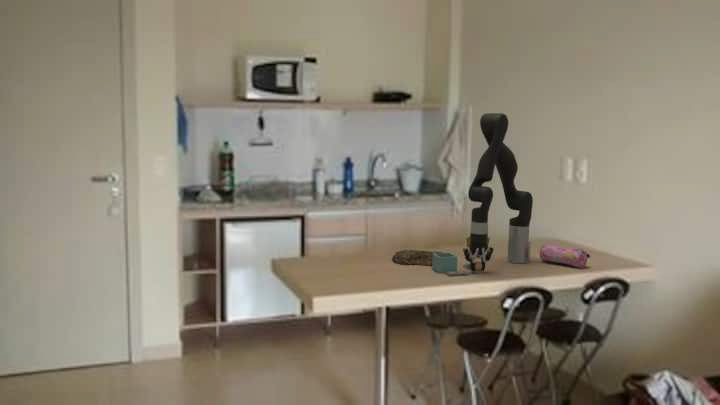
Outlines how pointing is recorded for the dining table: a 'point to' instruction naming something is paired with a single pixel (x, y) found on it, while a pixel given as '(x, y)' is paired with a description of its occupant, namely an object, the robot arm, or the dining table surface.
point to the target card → (456, 273)
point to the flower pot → (469, 244)
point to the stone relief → (413, 257)
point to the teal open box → (444, 262)
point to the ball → (478, 266)
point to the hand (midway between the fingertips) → (477, 270)
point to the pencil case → (564, 255)
